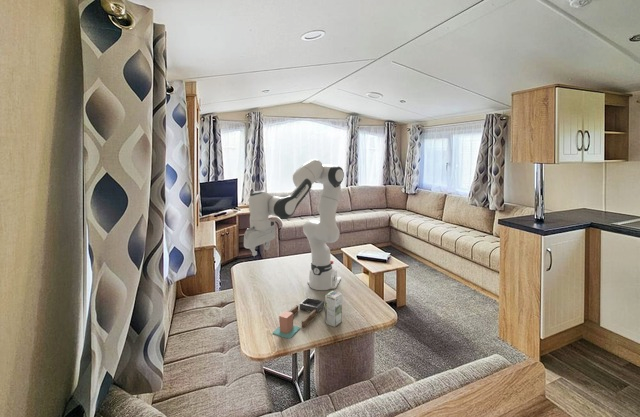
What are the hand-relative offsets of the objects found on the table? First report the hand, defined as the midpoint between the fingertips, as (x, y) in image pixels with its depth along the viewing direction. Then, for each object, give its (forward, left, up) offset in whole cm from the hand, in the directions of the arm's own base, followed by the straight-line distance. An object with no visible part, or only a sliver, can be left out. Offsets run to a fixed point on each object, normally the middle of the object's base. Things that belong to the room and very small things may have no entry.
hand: (260, 252), depth 150 cm
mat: (+10, +20, -31) cm, 38 cm away
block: (+9, +20, -30) cm, 38 cm away
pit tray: (-14, +20, -31) cm, 39 cm away
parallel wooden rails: (-2, +20, -31) cm, 37 cm away
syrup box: (-6, +36, -31) cm, 48 cm away
